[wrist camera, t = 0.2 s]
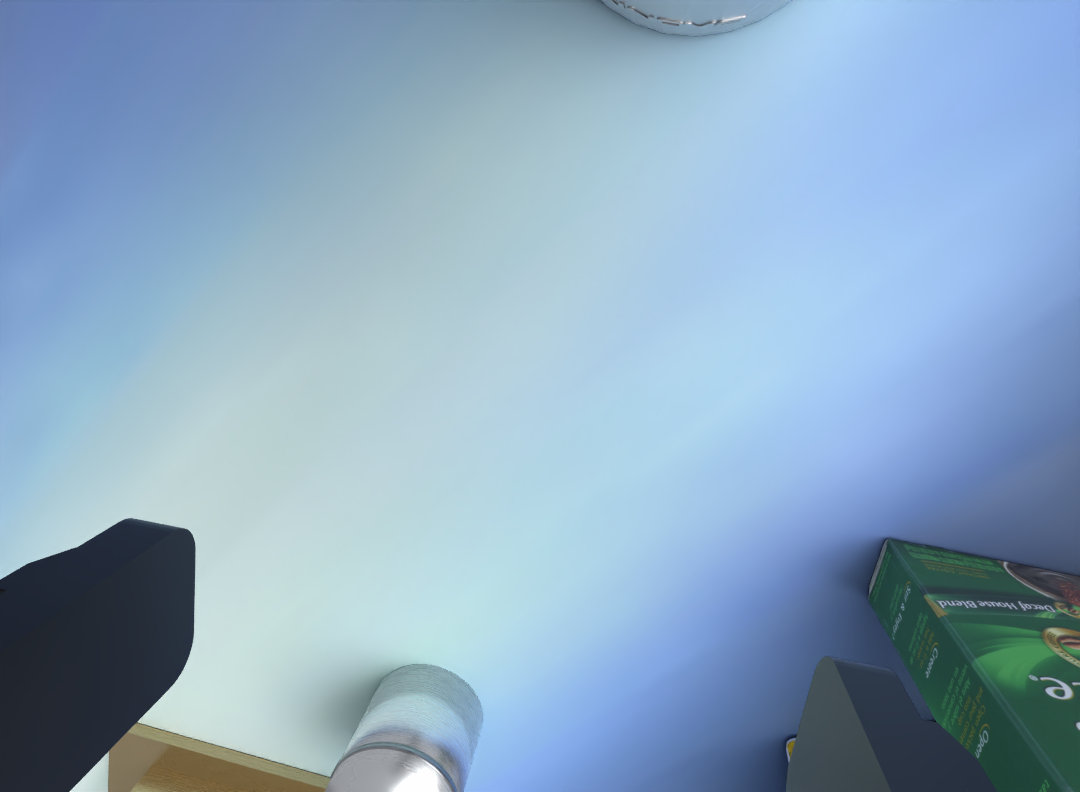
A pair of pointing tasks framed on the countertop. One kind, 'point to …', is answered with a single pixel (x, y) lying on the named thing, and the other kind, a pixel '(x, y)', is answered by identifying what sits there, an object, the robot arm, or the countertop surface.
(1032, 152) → the countertop surface
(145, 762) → the collar
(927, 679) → the coffee box
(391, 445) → the countertop surface
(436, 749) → the cylinder
